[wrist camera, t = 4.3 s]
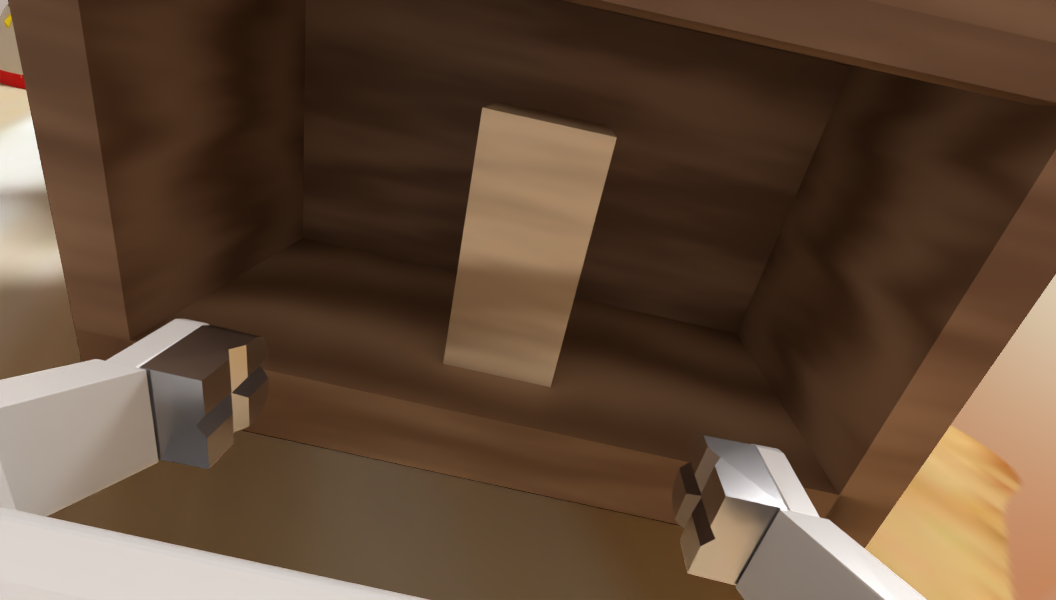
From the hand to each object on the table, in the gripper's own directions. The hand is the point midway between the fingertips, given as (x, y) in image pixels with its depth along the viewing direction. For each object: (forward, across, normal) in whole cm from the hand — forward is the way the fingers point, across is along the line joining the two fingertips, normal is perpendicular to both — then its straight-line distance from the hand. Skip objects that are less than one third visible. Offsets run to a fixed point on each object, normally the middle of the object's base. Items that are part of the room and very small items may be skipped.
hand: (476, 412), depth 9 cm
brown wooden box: (+14, 0, +8) cm, 16 cm away
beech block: (+12, 0, +6) cm, 13 cm away
